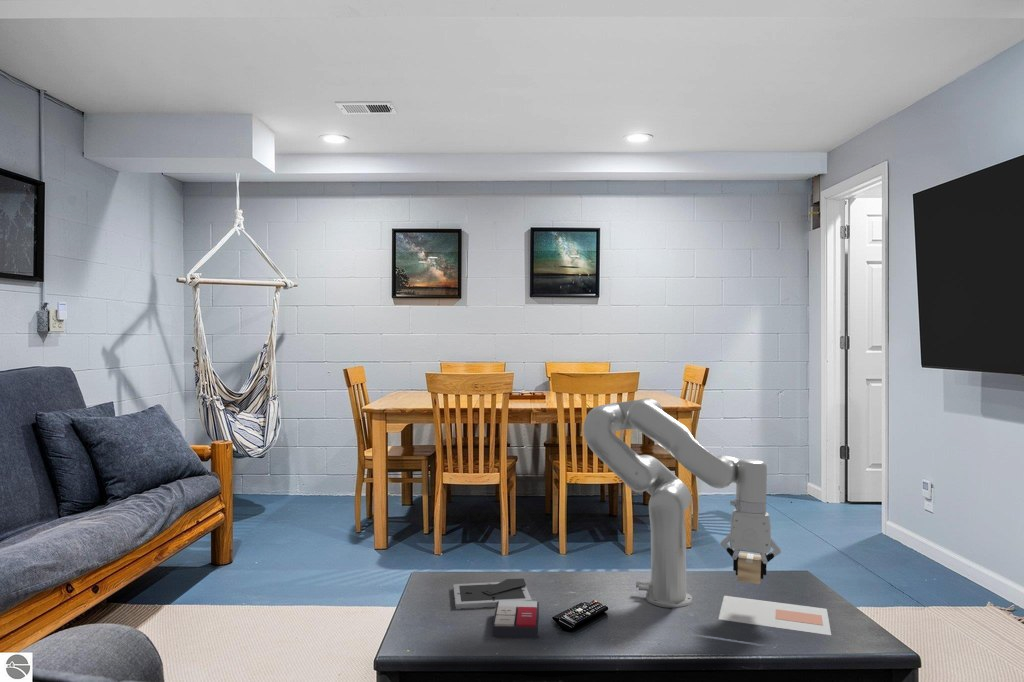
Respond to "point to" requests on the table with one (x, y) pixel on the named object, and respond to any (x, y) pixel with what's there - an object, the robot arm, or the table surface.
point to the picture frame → (490, 593)
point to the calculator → (516, 619)
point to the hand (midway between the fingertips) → (749, 574)
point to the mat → (775, 615)
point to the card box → (749, 568)
